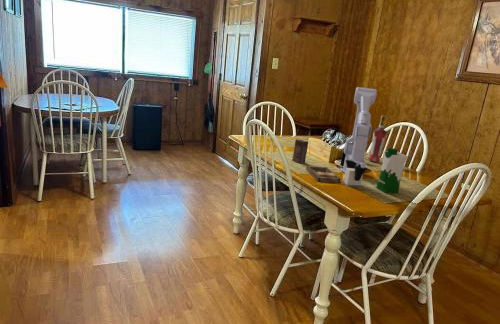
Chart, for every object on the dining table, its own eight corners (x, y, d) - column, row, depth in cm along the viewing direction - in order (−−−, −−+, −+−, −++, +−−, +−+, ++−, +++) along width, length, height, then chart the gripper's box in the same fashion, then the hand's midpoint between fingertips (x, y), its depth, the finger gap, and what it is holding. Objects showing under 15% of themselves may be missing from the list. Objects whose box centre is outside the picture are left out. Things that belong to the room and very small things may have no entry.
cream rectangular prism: (356, 182, 175) (359, 168, 173) (360, 185, 171) (363, 171, 169) (343, 181, 173) (346, 167, 171) (346, 184, 169) (349, 170, 168)
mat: (356, 182, 176) (356, 181, 176) (363, 187, 170) (363, 186, 169) (341, 181, 175) (341, 180, 174) (347, 186, 168) (347, 185, 168)
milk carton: (373, 187, 172) (382, 146, 167) (389, 187, 175) (398, 147, 169) (384, 194, 164) (394, 151, 159) (401, 194, 167) (411, 152, 161)
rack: (326, 170, 189) (326, 167, 189) (339, 182, 172) (340, 178, 172) (305, 169, 187) (306, 165, 187) (318, 181, 170) (318, 177, 170)
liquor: (367, 158, 227) (376, 114, 219) (379, 160, 225) (389, 116, 217) (367, 161, 220) (377, 115, 212) (380, 163, 218) (390, 117, 211)
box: (305, 162, 200) (308, 141, 197) (299, 163, 197) (303, 142, 194) (297, 159, 205) (300, 138, 201) (291, 160, 202) (295, 139, 198)
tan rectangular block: (332, 178, 178) (333, 173, 177) (334, 181, 174) (335, 175, 173) (316, 177, 177) (317, 171, 176) (318, 180, 173) (319, 174, 172)
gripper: (344, 145, 174) (339, 172, 177) (358, 153, 160) (352, 182, 164) (358, 146, 175) (352, 173, 179) (372, 154, 161) (366, 183, 165)
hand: (353, 177), depth 171 cm, fingers open, 7 cm apart
